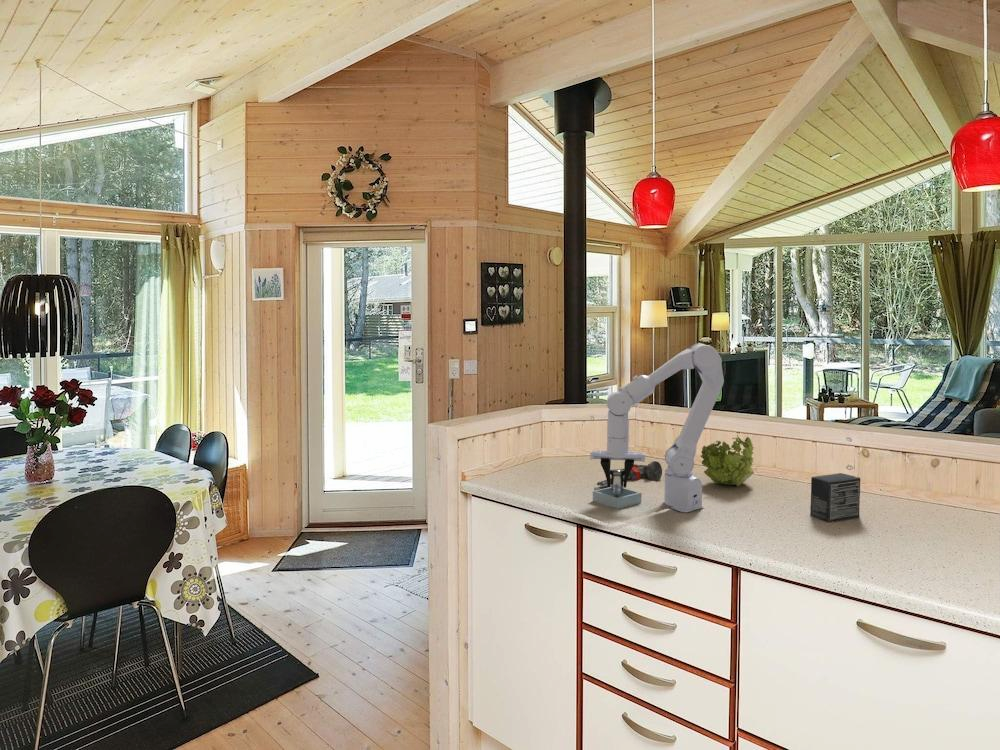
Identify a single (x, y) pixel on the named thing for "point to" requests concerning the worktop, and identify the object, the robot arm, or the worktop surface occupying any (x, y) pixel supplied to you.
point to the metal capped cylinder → (617, 481)
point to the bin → (624, 498)
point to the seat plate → (601, 487)
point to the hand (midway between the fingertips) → (617, 486)
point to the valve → (643, 472)
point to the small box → (835, 497)
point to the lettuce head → (728, 462)
